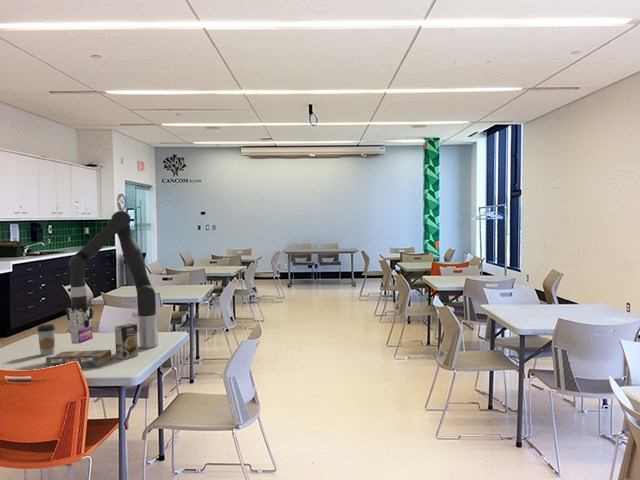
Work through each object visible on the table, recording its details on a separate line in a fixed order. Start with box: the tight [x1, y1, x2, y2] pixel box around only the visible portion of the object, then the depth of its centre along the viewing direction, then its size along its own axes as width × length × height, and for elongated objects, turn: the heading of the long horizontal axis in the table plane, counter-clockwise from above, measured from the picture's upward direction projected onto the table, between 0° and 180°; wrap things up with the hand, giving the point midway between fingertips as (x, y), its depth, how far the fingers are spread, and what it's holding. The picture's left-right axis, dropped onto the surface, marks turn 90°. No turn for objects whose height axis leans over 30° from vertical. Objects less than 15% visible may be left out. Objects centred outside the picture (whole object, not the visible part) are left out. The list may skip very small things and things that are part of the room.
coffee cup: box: [37, 323, 56, 357], centre depth 281 cm, size 8×8×15 cm
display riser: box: [45, 349, 112, 369], centre depth 260 cm, size 24×18×6 cm
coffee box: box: [114, 323, 139, 361], centre depth 269 cm, size 9×6×16 cm
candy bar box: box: [69, 310, 93, 344], centre depth 276 cm, size 11×5×16 cm, turn 169°
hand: (81, 327), depth 276 cm, fingers closed on candy bar box, 5 cm apart
